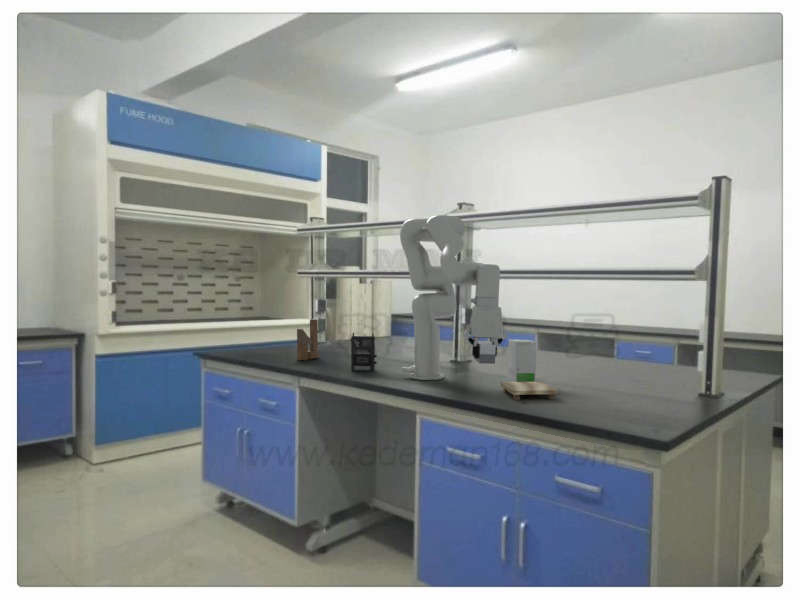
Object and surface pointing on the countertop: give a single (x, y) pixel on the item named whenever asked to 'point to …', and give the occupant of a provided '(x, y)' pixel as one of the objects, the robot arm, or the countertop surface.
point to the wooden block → (308, 342)
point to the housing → (486, 352)
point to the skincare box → (521, 361)
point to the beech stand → (528, 389)
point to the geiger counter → (363, 353)
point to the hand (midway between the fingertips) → (484, 357)
